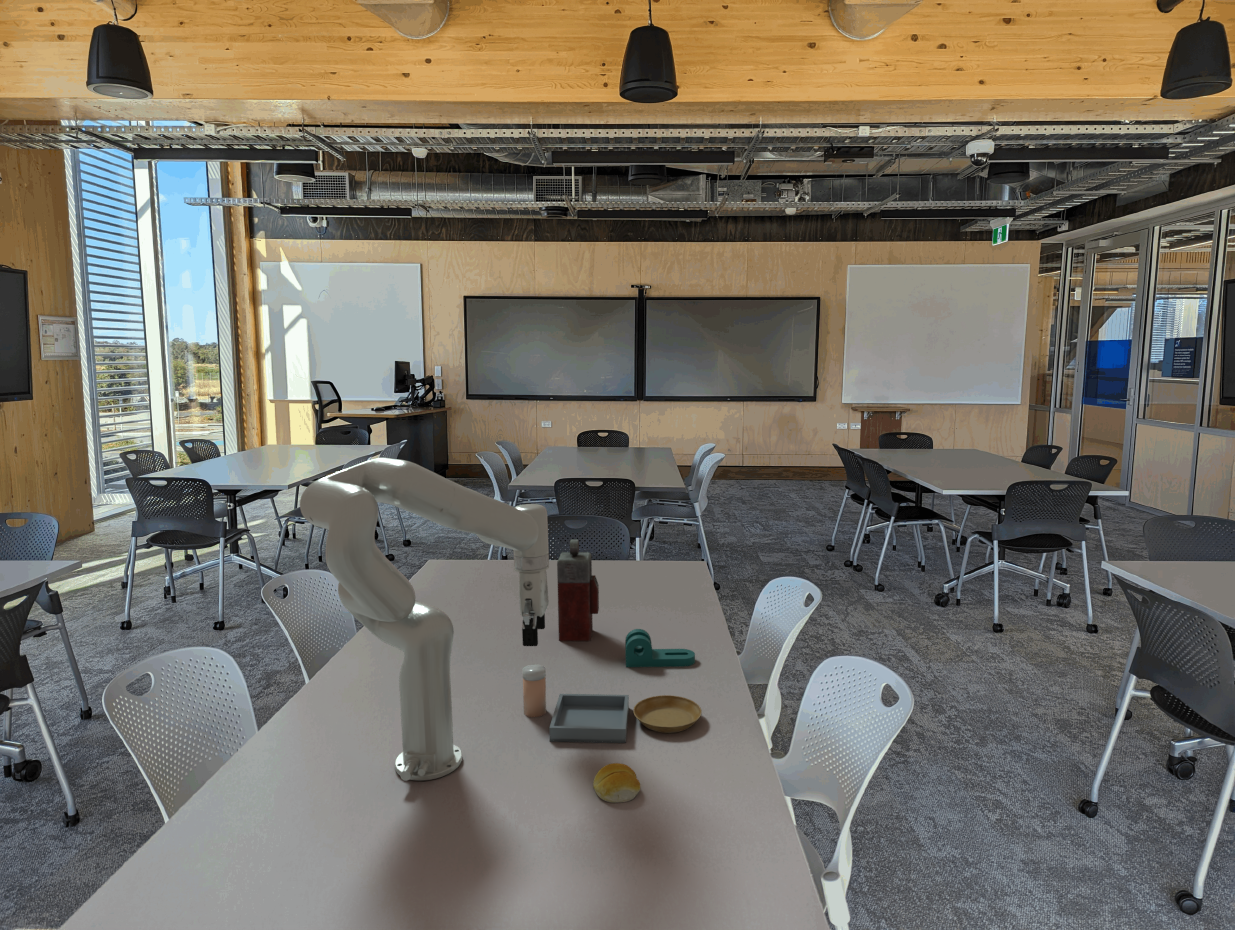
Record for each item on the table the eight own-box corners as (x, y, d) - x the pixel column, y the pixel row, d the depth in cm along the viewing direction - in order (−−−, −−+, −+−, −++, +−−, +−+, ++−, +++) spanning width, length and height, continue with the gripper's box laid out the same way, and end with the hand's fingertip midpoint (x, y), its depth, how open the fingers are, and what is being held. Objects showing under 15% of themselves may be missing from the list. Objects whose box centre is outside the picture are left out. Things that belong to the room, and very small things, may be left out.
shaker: (544, 717, 159) (543, 674, 157) (521, 717, 159) (520, 673, 157) (548, 706, 164) (547, 664, 162) (525, 706, 164) (524, 664, 163)
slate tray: (625, 742, 147) (625, 729, 147) (549, 741, 148) (549, 727, 148) (628, 707, 163) (628, 694, 162) (559, 706, 164) (559, 693, 163)
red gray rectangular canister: (598, 641, 203) (597, 543, 199) (558, 640, 203) (556, 543, 200) (600, 629, 212) (599, 536, 208) (562, 629, 212) (560, 536, 208)
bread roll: (632, 773, 137) (631, 753, 136) (644, 800, 128) (644, 779, 127) (589, 779, 135) (588, 759, 134) (598, 807, 126) (598, 785, 126)
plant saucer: (645, 742, 148) (645, 730, 147) (625, 710, 162) (625, 699, 162) (712, 732, 152) (712, 721, 151) (687, 702, 166) (687, 691, 165)
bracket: (626, 667, 185) (625, 638, 184) (625, 657, 192) (625, 628, 191) (696, 667, 185) (696, 637, 184) (693, 656, 192) (693, 628, 191)
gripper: (542, 573, 148) (545, 652, 150) (554, 551, 165) (556, 622, 168) (506, 573, 148) (509, 652, 151) (521, 551, 166) (524, 622, 168)
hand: (534, 636), depth 159 cm, fingers open, 9 cm apart
